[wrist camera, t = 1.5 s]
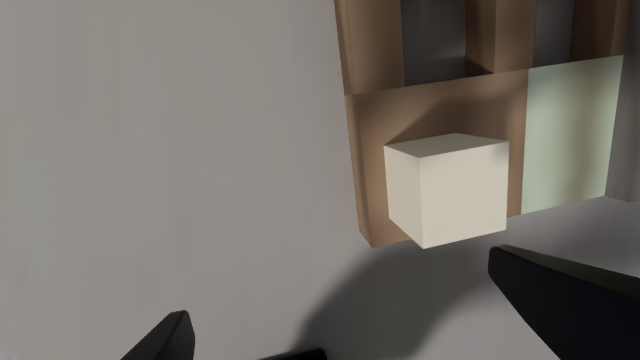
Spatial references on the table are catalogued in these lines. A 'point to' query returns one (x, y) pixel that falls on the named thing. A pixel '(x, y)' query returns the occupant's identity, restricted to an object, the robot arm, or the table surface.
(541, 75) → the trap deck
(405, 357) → the table surface
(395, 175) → the block
